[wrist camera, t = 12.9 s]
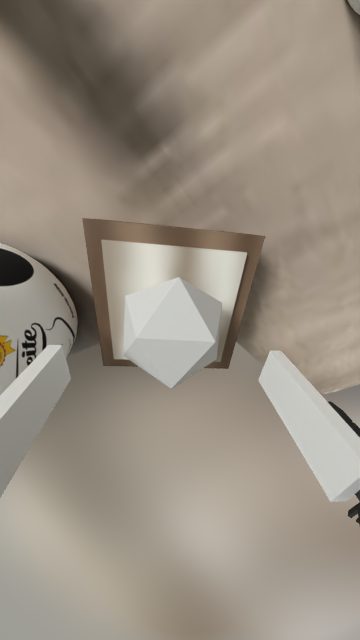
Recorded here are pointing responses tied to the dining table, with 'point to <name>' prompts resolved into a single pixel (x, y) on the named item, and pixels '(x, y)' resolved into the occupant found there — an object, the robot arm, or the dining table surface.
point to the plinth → (167, 274)
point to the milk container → (30, 313)
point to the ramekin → (355, 5)
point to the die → (171, 330)
